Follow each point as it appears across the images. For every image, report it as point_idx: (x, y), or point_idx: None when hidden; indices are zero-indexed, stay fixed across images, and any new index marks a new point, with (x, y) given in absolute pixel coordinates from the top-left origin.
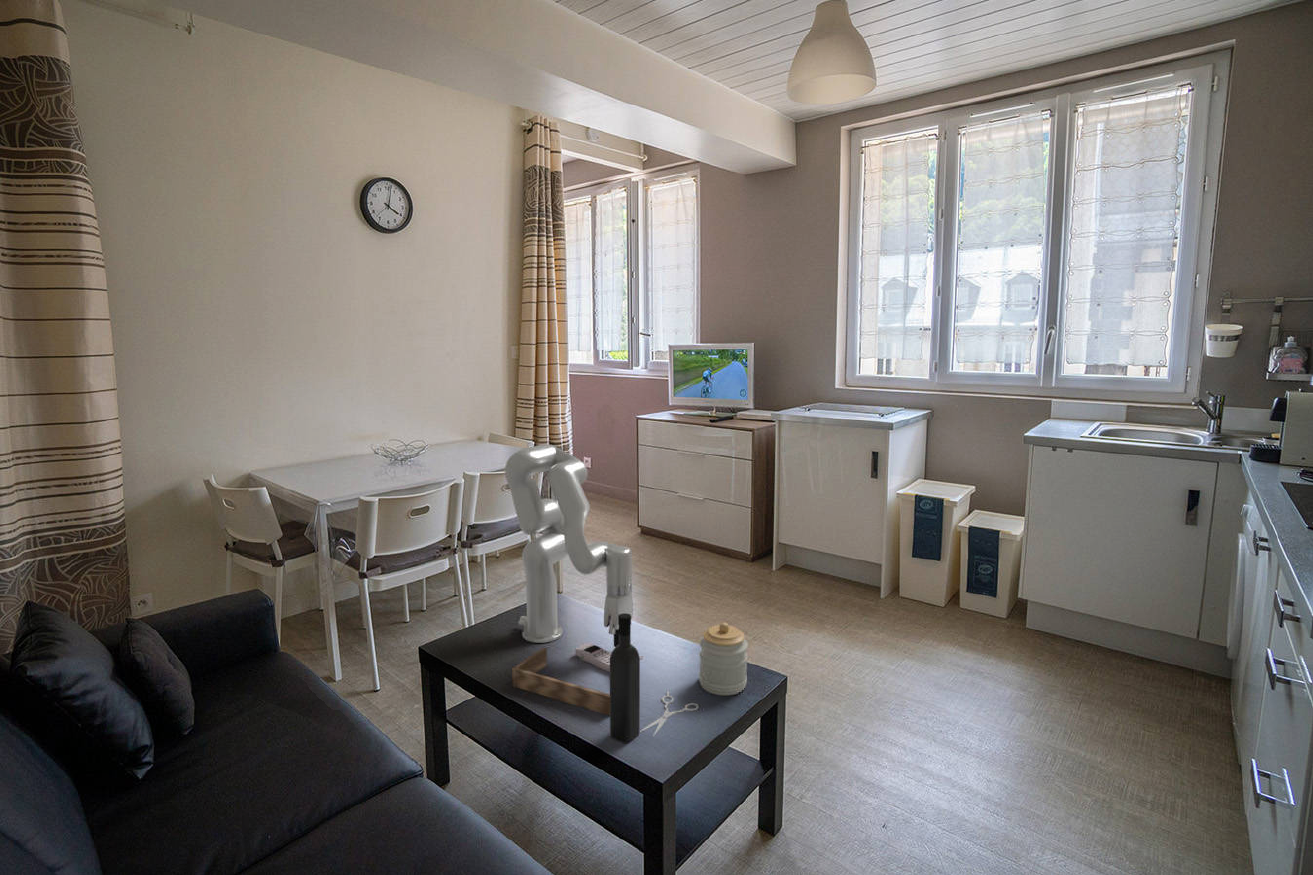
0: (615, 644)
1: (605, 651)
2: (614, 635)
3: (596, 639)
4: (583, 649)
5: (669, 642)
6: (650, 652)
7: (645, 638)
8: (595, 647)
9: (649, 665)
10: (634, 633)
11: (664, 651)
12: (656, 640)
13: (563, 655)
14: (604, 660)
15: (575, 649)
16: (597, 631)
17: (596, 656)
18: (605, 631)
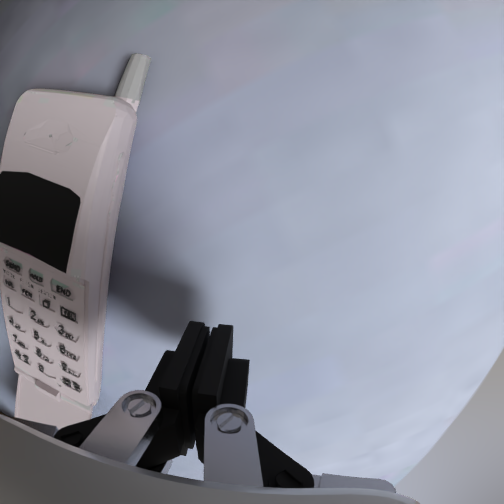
0: (166, 354)
1: (74, 308)
2: (164, 384)
3: (336, 80)
4: (8, 165)
5: (403, 454)
6: (289, 445)
7: (436, 373)
8: (54, 229)
9: (176, 461)
10: (485, 296)
11: (318, 472)
12: (419, 418)
13: (46, 42)
14: (20, 335)
15: (23, 97)
16: (444, 50)
17: (10, 283)
18: (468, 103)
